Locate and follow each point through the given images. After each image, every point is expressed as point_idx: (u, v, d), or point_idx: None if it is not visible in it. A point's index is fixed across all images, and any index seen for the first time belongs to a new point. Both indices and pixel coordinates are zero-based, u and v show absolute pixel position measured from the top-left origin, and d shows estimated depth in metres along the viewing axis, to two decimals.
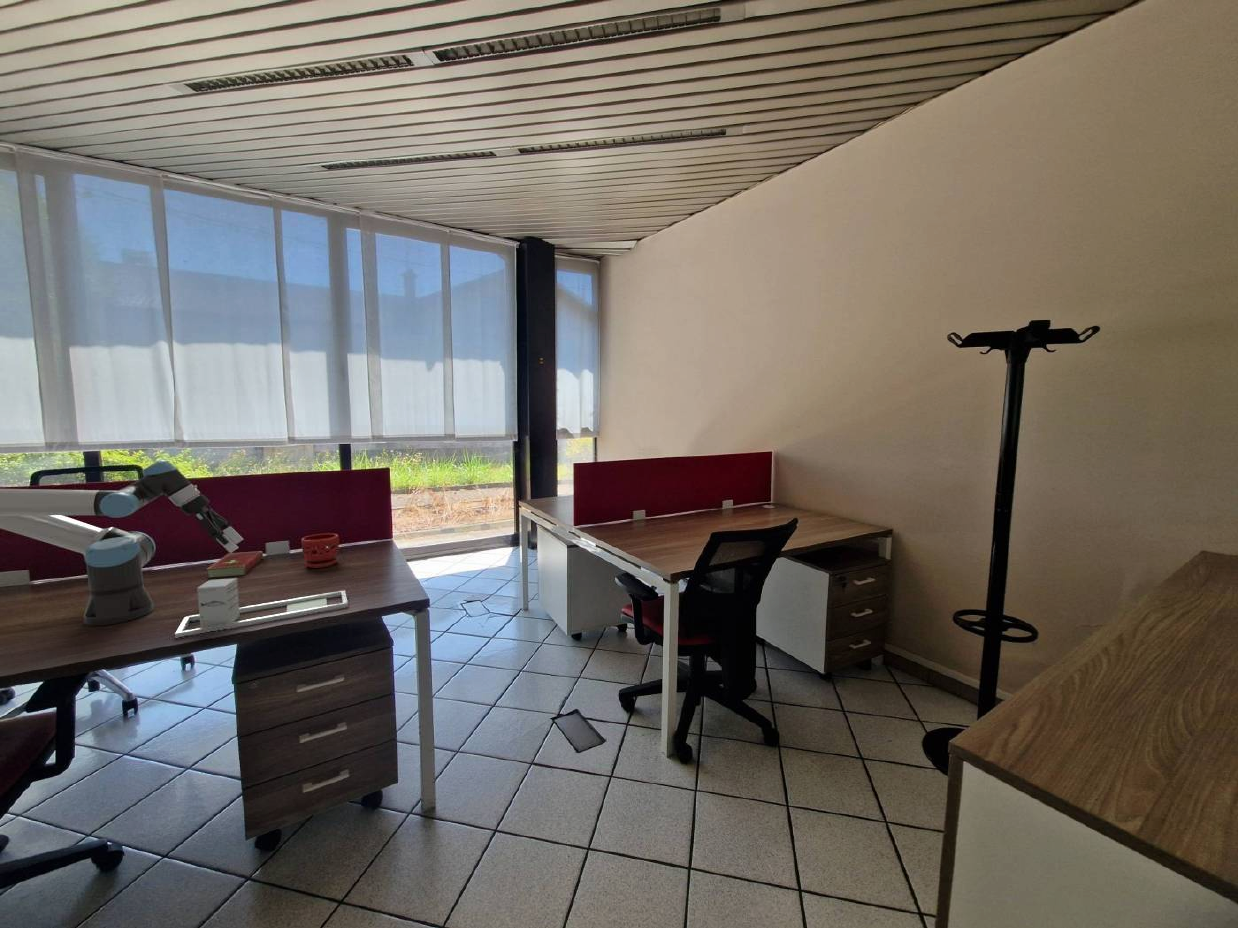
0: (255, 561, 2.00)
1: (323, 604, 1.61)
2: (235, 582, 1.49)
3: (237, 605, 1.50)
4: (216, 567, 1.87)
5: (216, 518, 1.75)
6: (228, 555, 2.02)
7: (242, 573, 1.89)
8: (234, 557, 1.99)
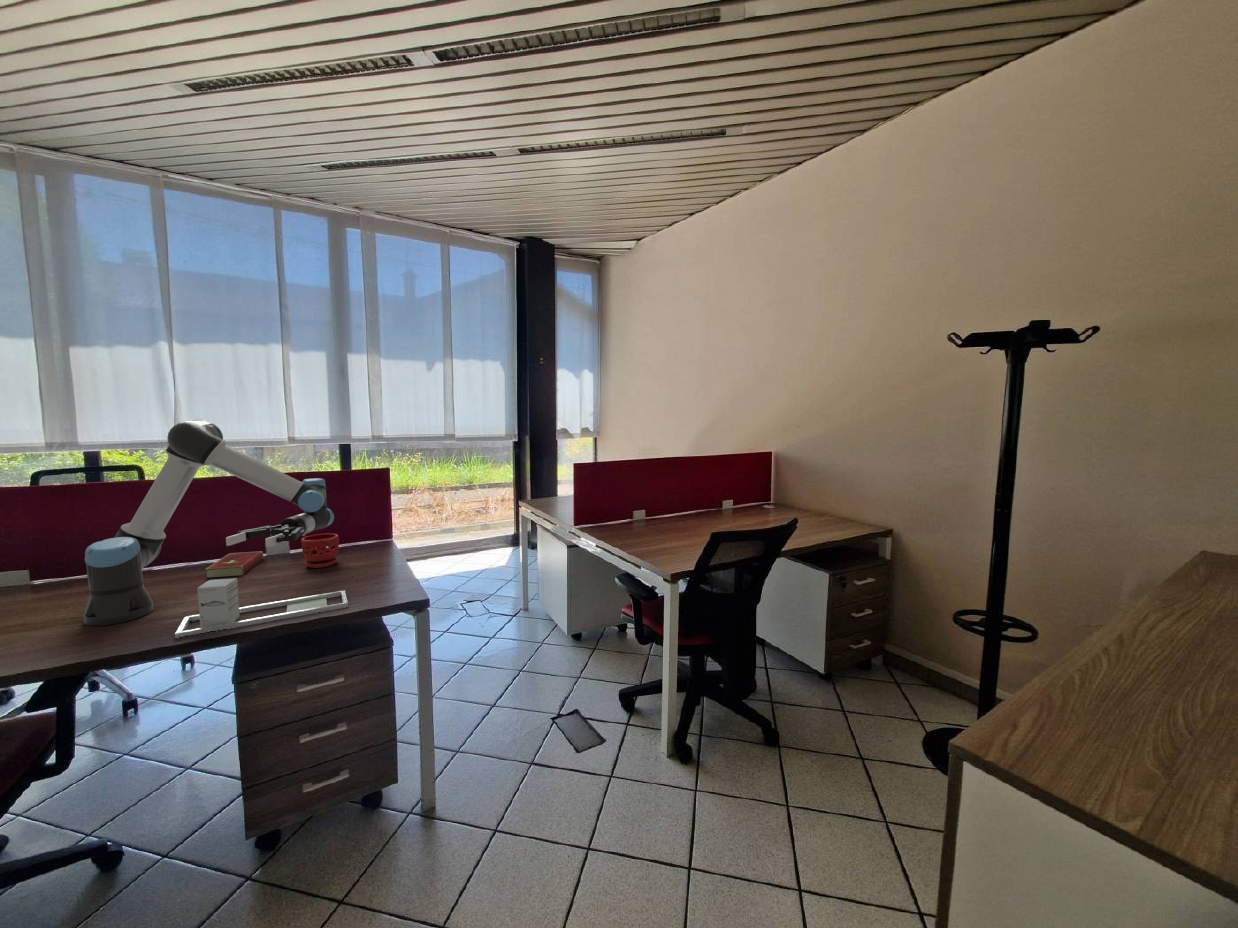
0: (254, 561, 2.00)
1: (323, 604, 1.61)
2: (235, 582, 1.49)
3: (237, 605, 1.50)
4: (215, 567, 1.87)
5: (266, 535, 1.67)
6: (228, 555, 2.02)
7: (240, 573, 1.89)
8: (234, 557, 1.99)
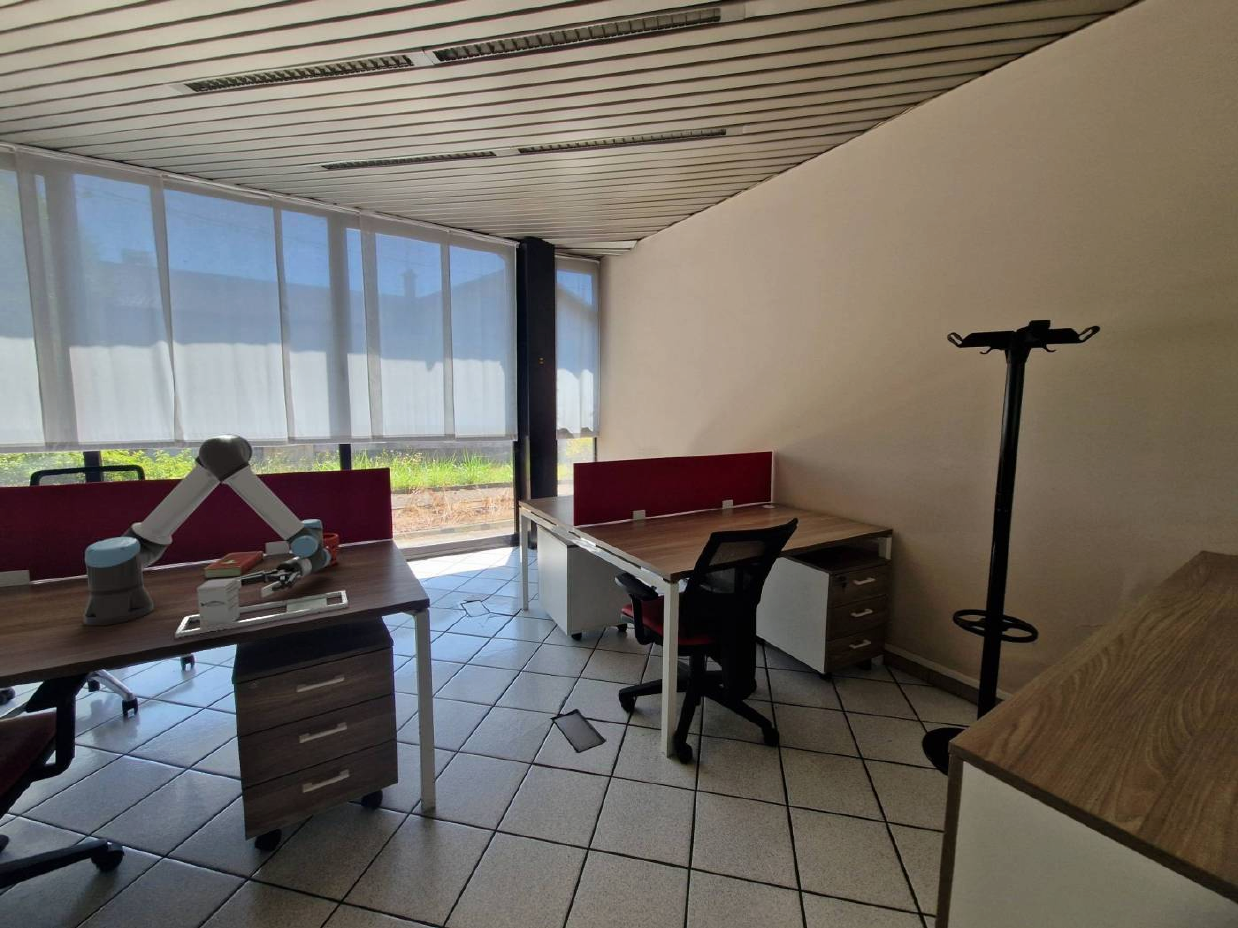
0: (254, 561, 1.99)
1: (323, 604, 1.61)
2: (235, 582, 1.49)
3: (237, 605, 1.50)
4: (213, 567, 1.87)
5: (262, 581, 1.65)
6: (229, 555, 2.02)
7: (238, 573, 1.88)
8: (234, 557, 1.99)
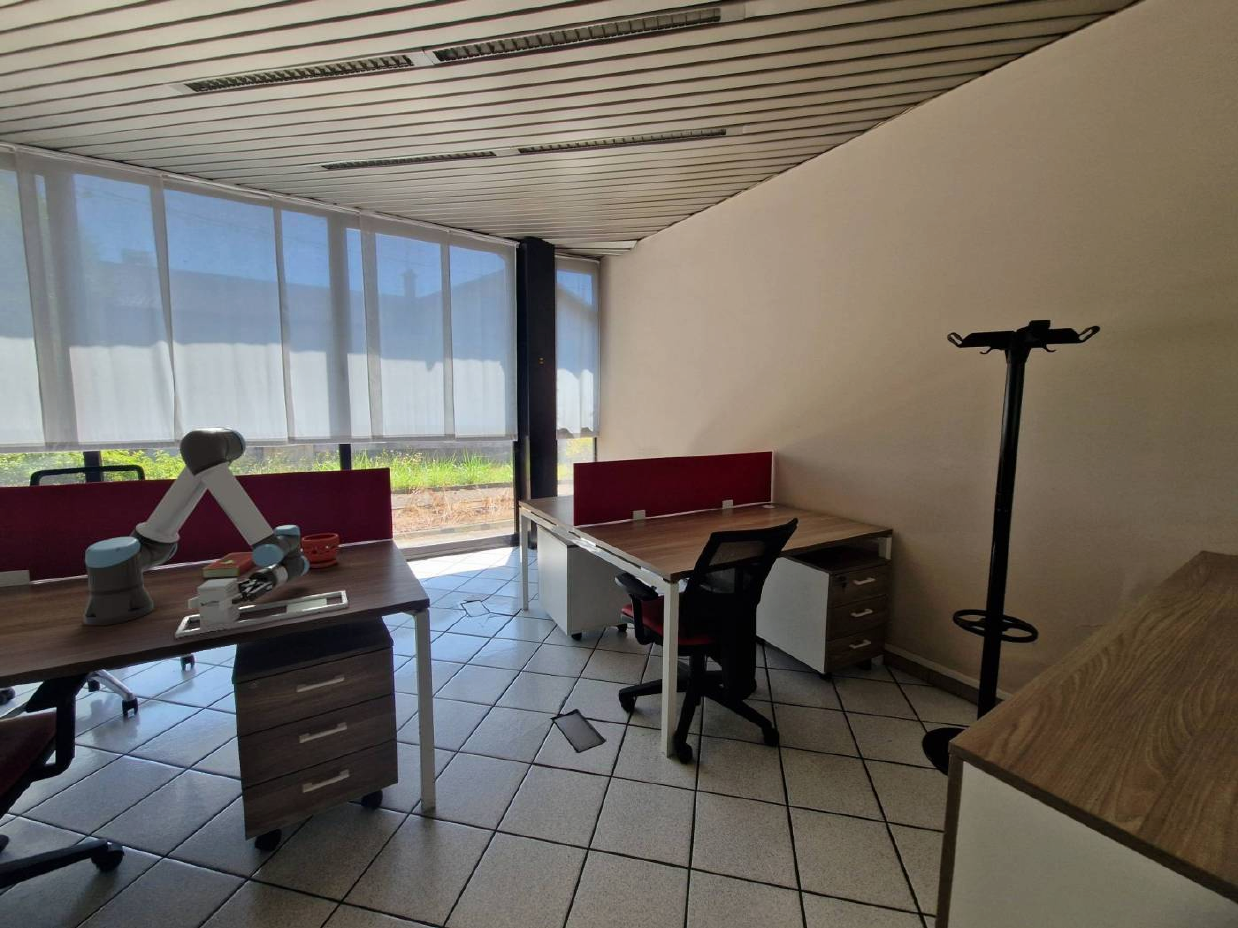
0: (253, 562, 1.99)
1: (323, 604, 1.61)
2: (235, 582, 1.49)
3: (237, 605, 1.50)
4: (211, 567, 1.86)
5: None
6: (229, 555, 2.02)
7: (236, 574, 1.88)
8: (234, 557, 1.99)
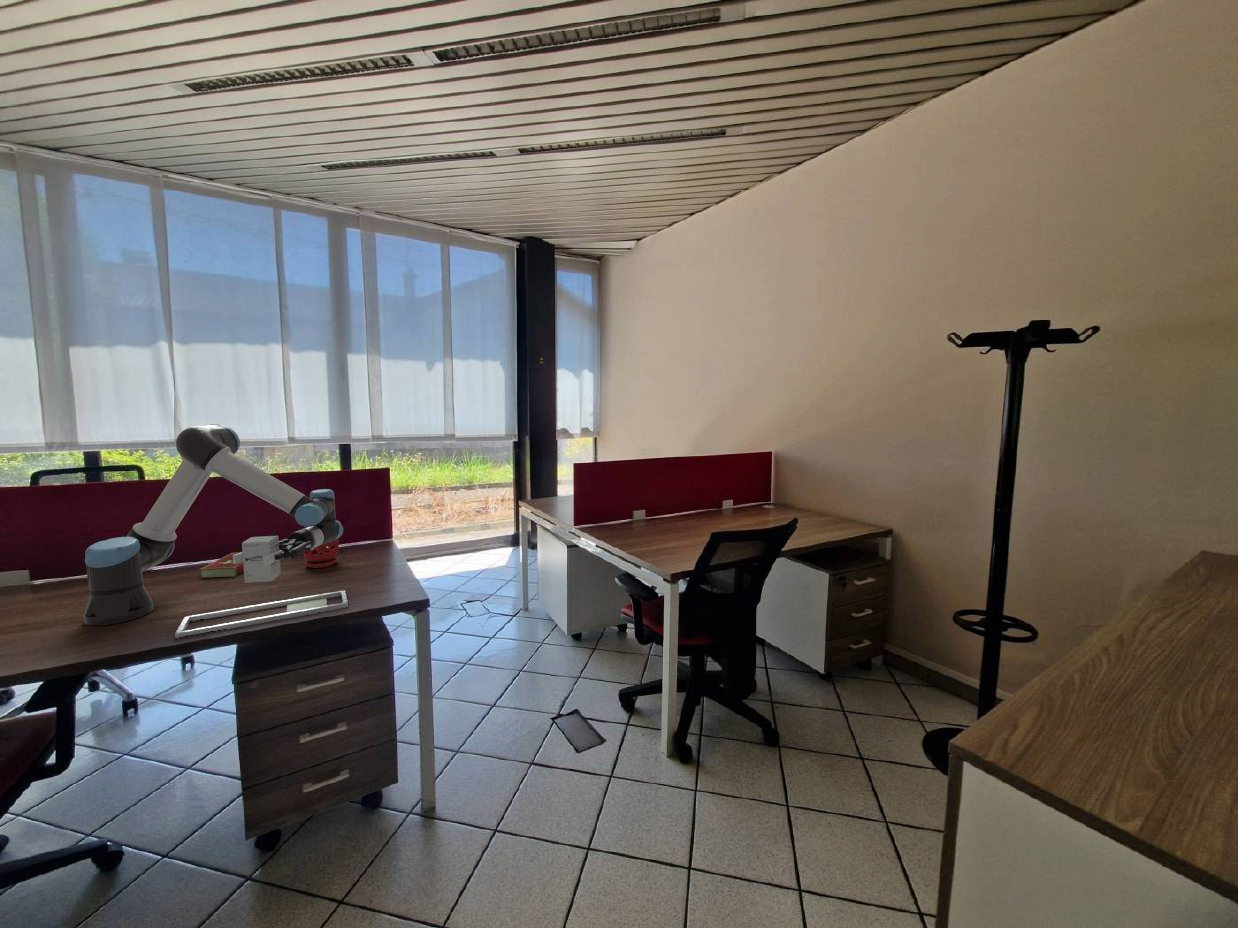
0: None
1: (323, 604, 1.61)
2: (277, 539, 1.53)
3: (278, 562, 1.54)
4: (209, 567, 1.86)
5: None
6: (230, 555, 2.02)
7: (233, 574, 1.87)
8: None
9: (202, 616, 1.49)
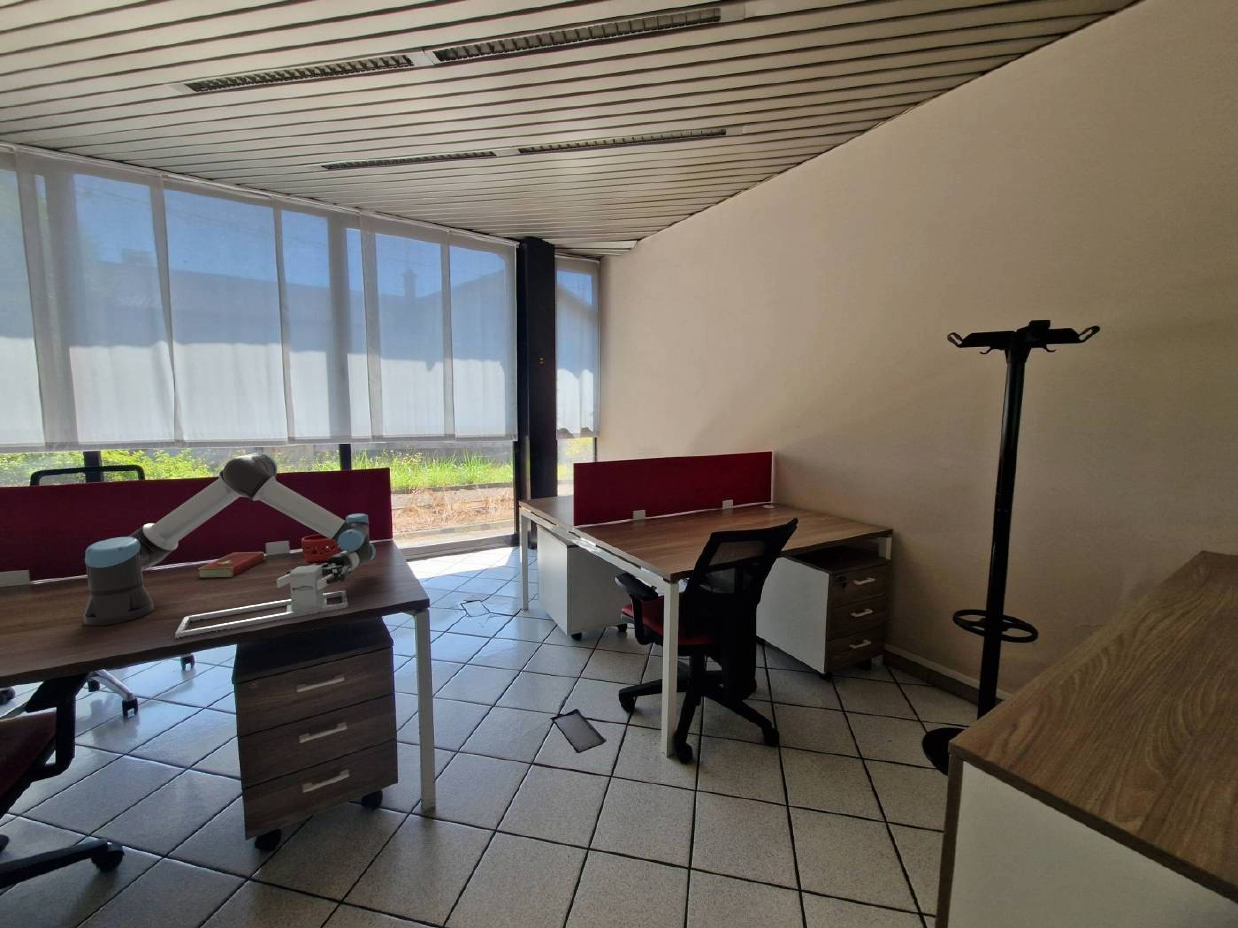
0: (251, 562, 1.98)
1: (323, 604, 1.61)
2: (321, 569, 1.61)
3: (322, 590, 1.62)
4: (207, 567, 1.86)
5: None
6: (231, 554, 2.03)
7: (230, 574, 1.87)
8: (233, 557, 1.99)
9: (202, 616, 1.49)
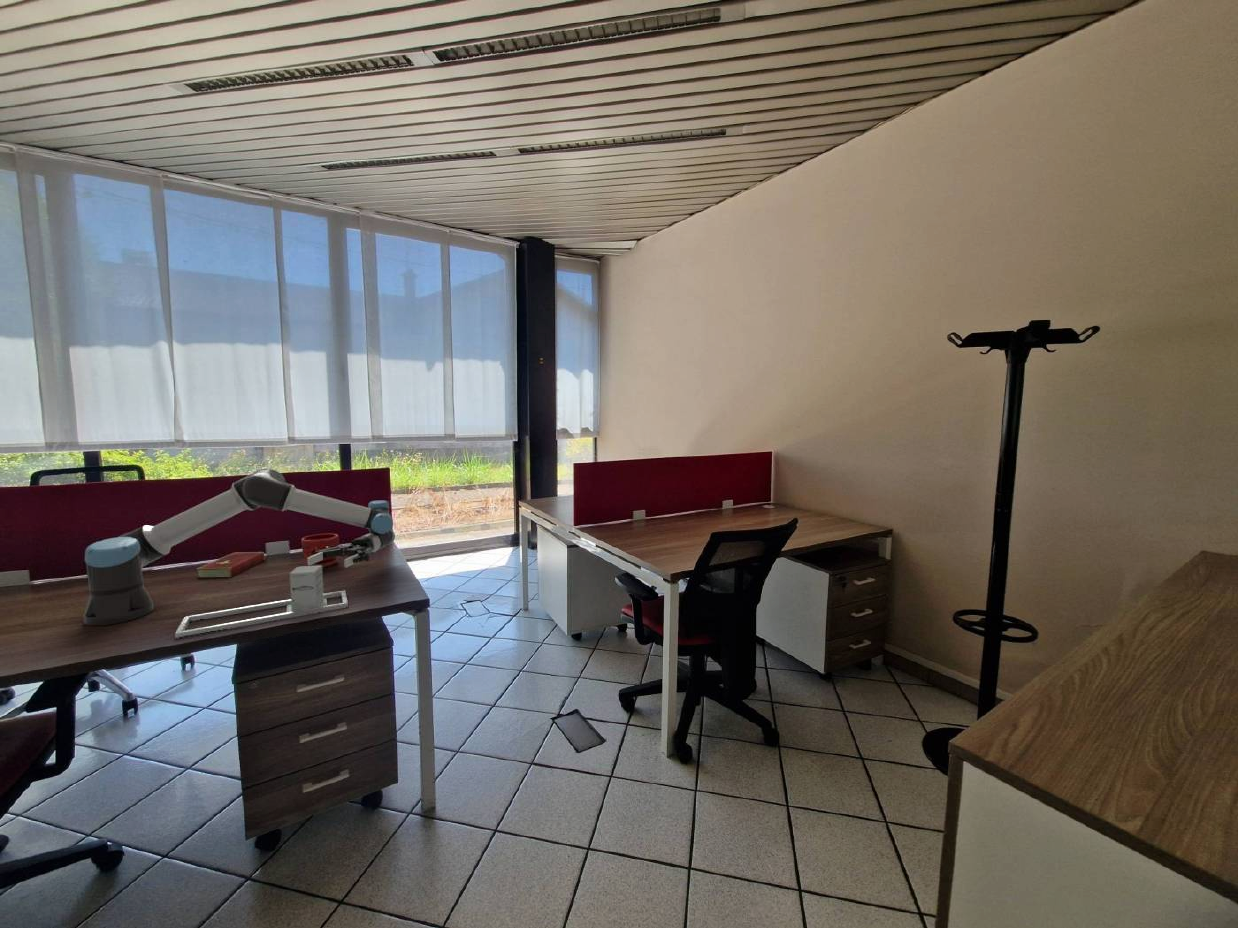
0: (250, 563, 1.98)
1: (323, 604, 1.61)
2: (321, 569, 1.61)
3: (322, 590, 1.62)
4: (206, 567, 1.86)
5: (340, 554, 1.80)
6: (231, 554, 2.03)
7: (228, 575, 1.87)
8: (233, 557, 1.99)
9: (202, 616, 1.49)
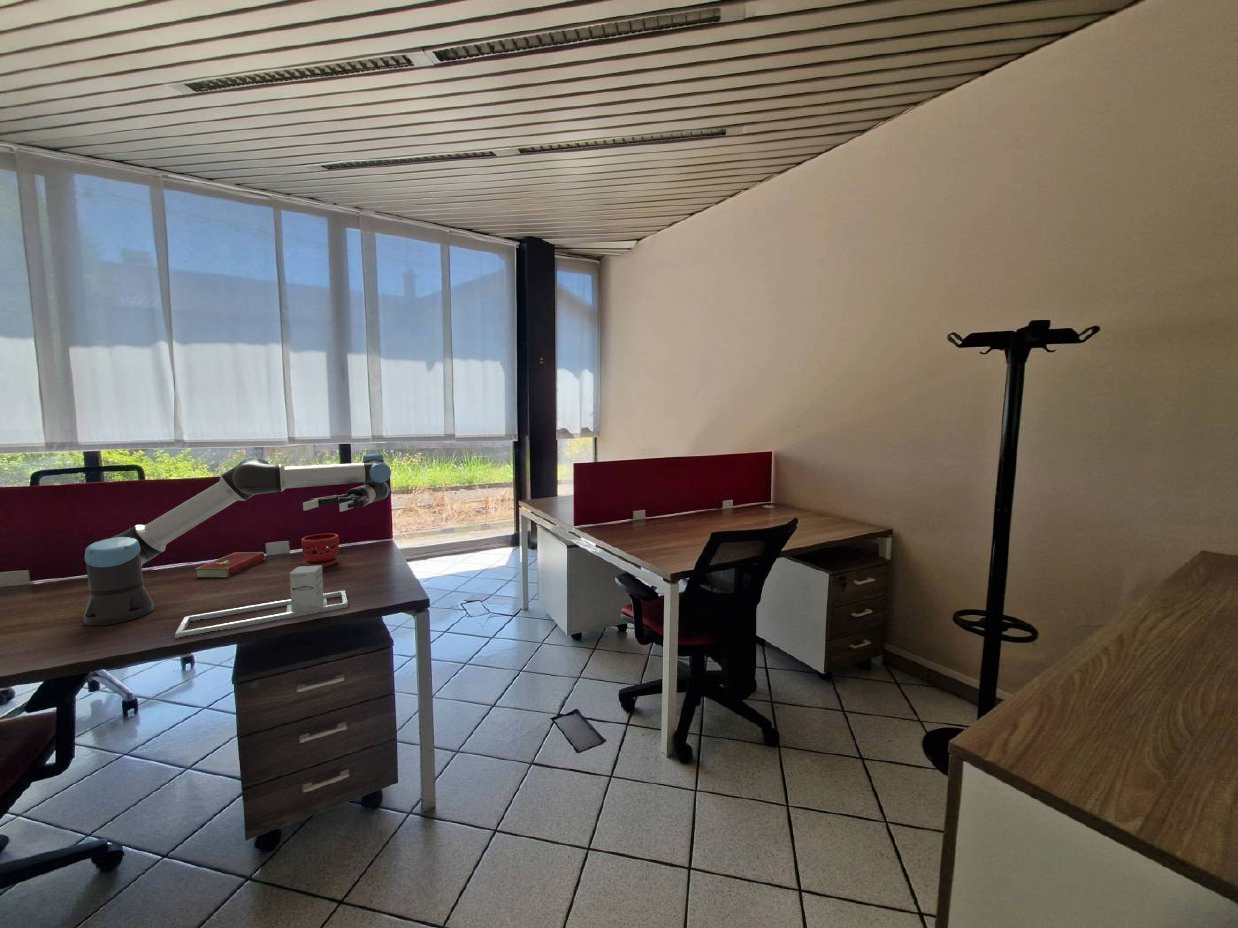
0: (249, 563, 1.98)
1: (323, 604, 1.61)
2: (321, 569, 1.61)
3: (322, 590, 1.62)
4: (204, 567, 1.86)
5: (335, 502, 1.83)
6: (232, 554, 2.03)
7: (226, 575, 1.86)
8: (233, 557, 1.99)
9: (202, 616, 1.49)
